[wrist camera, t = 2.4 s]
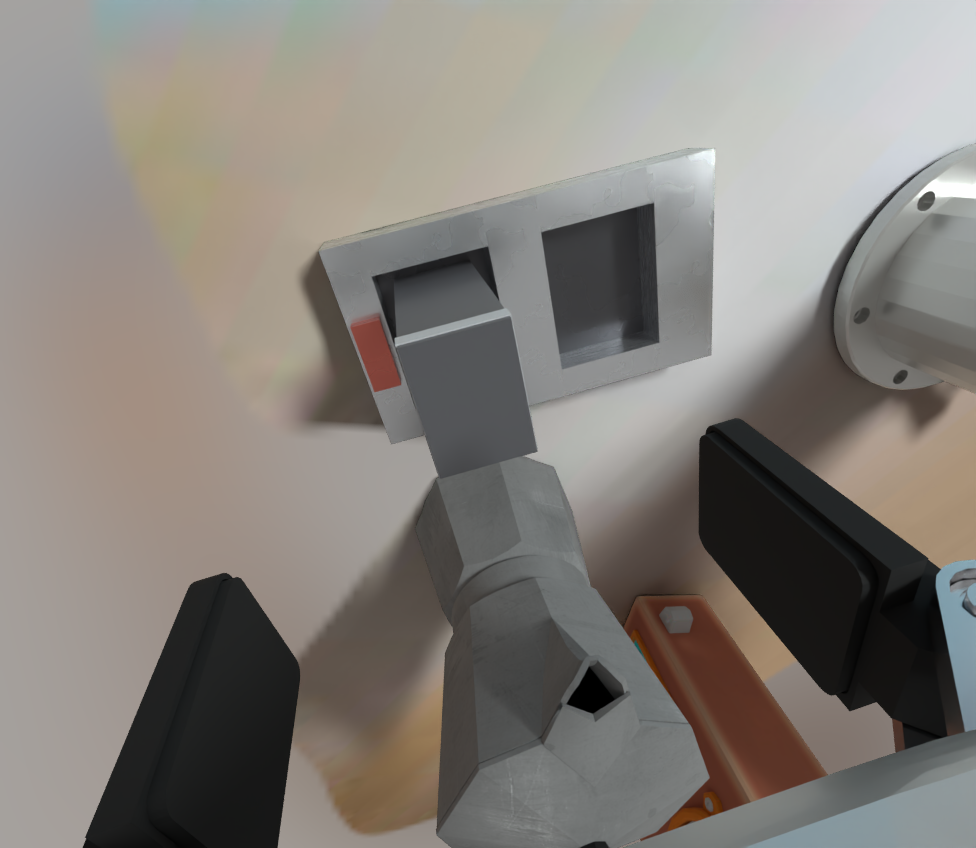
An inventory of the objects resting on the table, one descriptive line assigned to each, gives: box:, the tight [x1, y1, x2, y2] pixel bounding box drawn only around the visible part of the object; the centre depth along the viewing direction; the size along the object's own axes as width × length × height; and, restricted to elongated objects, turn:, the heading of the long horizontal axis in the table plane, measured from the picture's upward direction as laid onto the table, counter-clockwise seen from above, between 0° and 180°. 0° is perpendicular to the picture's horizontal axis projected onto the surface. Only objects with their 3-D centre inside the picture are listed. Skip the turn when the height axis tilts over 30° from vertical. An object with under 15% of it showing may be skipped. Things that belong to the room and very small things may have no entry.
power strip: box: [319, 148, 715, 444], centre depth 22 cm, size 16×9×2 cm, turn 102°
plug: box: [394, 260, 538, 479], centre depth 19 cm, size 4×5×8 cm
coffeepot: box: [415, 456, 710, 848], centre depth 22 cm, size 15×9×18 cm, turn 0°
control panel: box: [623, 595, 828, 841], centre depth 29 cm, size 21×7×15 cm
